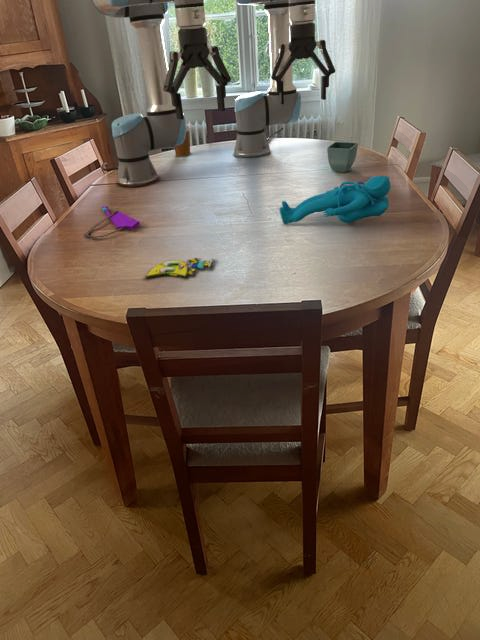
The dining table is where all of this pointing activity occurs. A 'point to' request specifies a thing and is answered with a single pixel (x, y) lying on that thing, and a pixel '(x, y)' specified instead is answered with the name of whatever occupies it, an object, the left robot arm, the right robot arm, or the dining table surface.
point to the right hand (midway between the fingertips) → (302, 101)
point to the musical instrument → (117, 221)
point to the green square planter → (341, 155)
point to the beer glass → (184, 144)
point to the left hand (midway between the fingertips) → (201, 114)
